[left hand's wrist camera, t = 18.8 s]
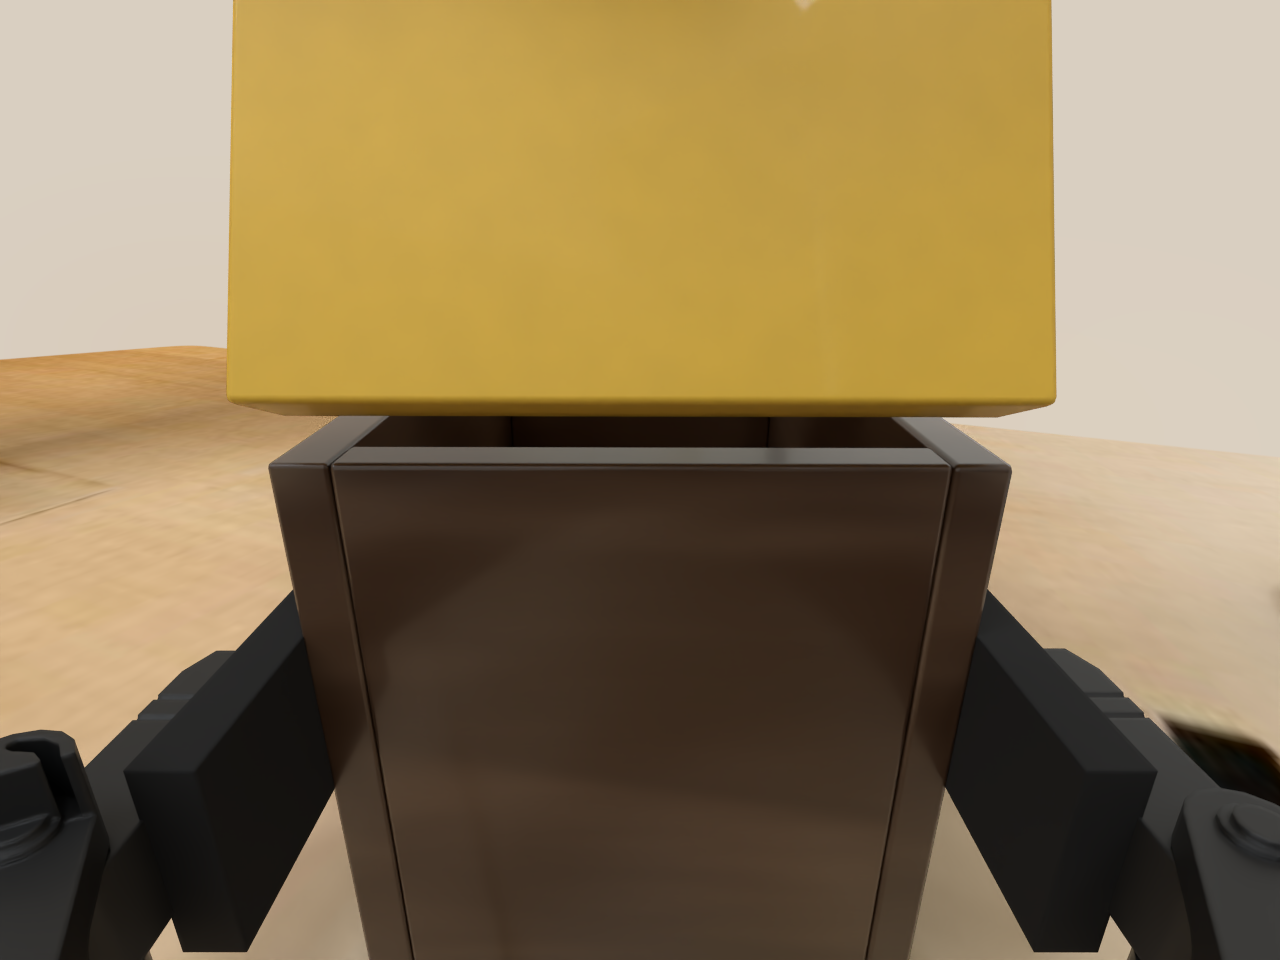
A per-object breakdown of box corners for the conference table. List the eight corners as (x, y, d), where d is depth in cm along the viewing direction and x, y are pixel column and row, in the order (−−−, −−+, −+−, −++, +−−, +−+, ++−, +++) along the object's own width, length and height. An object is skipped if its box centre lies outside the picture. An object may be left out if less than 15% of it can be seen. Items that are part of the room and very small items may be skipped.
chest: (507, 632, 24) (482, 316, 20) (772, 633, 24) (798, 317, 20) (382, 1031, 13) (263, 464, 9) (896, 1033, 13) (1017, 466, 9)
